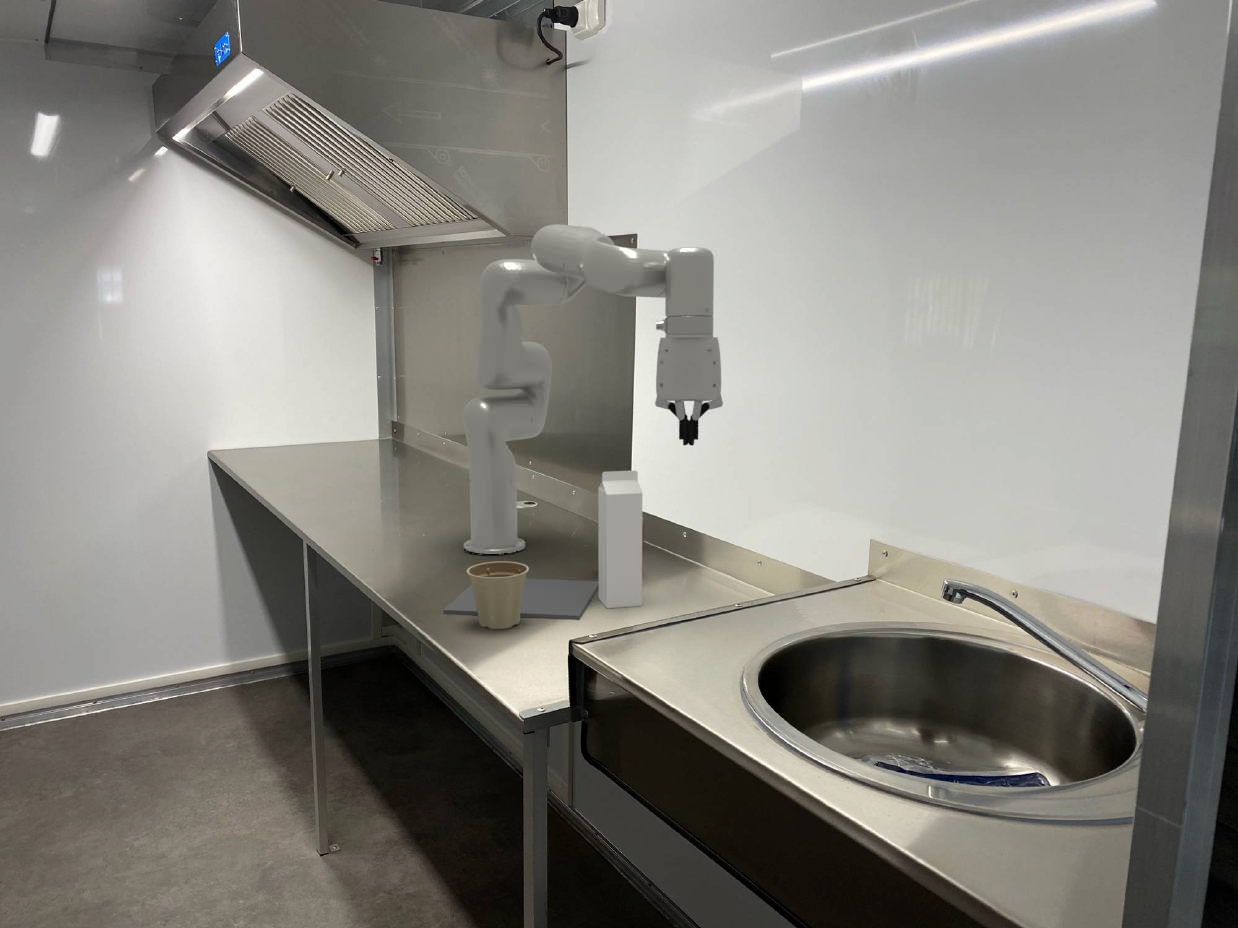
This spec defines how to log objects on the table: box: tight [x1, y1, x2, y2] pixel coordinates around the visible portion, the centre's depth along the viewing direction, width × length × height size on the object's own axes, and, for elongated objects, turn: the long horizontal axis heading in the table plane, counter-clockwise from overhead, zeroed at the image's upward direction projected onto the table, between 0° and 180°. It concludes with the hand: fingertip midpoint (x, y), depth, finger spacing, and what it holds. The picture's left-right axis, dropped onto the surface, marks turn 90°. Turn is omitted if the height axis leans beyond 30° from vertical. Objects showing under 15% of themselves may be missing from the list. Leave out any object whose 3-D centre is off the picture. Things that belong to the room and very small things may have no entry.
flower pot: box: [466, 560, 530, 630], centre depth 142 cm, size 9×9×9 cm
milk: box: [597, 470, 643, 609], centre depth 152 cm, size 6×6×22 cm
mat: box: [443, 578, 599, 620], centre depth 156 cm, size 20×22×1 cm
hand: (688, 444), depth 148 cm, fingers closed
